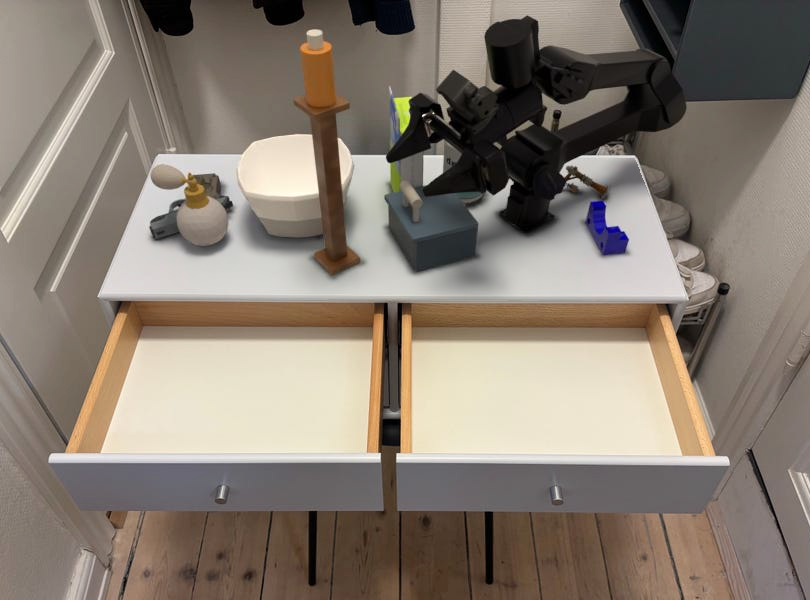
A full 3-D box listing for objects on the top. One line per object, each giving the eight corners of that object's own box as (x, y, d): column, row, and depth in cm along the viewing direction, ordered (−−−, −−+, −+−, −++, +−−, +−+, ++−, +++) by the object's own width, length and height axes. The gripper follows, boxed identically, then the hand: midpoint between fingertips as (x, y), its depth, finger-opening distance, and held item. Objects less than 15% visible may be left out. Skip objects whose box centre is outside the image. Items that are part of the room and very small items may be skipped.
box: (423, 218, 106) (426, 116, 93) (398, 220, 106) (397, 119, 93) (412, 181, 113) (413, 82, 100) (388, 183, 113) (386, 84, 100)
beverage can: (436, 203, 109) (439, 136, 100) (448, 180, 113) (452, 114, 104) (477, 211, 107) (484, 143, 98) (487, 187, 112) (494, 121, 103)
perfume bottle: (230, 252, 100) (213, 184, 91) (165, 257, 100) (141, 189, 91) (233, 222, 105) (217, 155, 96) (171, 227, 105) (149, 159, 96)
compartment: (416, 271, 97) (416, 243, 93) (388, 227, 105) (388, 198, 101) (475, 256, 100) (478, 227, 96) (444, 213, 107) (445, 185, 103)
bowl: (356, 181, 113) (352, 130, 106) (359, 247, 101) (355, 194, 94) (251, 186, 112) (240, 135, 105) (241, 253, 100) (229, 200, 93)
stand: (341, 245, 102) (327, 87, 83) (360, 262, 99) (349, 102, 80) (314, 258, 100) (292, 98, 81) (332, 275, 97) (314, 114, 78)
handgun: (130, 190, 108) (151, 229, 100) (212, 166, 112) (237, 202, 105) (135, 203, 109) (155, 242, 102) (216, 179, 114) (240, 215, 107)
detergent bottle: (325, 90, 82) (319, 23, 76) (341, 101, 80) (336, 33, 74) (300, 99, 81) (292, 31, 75) (316, 110, 79) (309, 42, 73)
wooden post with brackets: (554, 180, 111) (570, 160, 108) (594, 204, 112) (611, 184, 109) (552, 186, 110) (568, 165, 107) (593, 210, 111) (610, 190, 108)
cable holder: (624, 252, 100) (631, 231, 97) (602, 254, 100) (608, 233, 97) (606, 220, 105) (612, 199, 102) (585, 222, 105) (590, 201, 102)
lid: (412, 243, 93) (412, 215, 90) (384, 199, 100) (383, 171, 97) (478, 227, 96) (481, 199, 92) (445, 185, 103) (447, 157, 99)
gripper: (448, 32, 87) (351, 95, 86) (538, 89, 76) (429, 162, 75) (464, 103, 96) (376, 161, 95) (546, 163, 85) (449, 229, 84)
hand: (404, 176), depth 87 cm, fingers open, 9 cm apart
